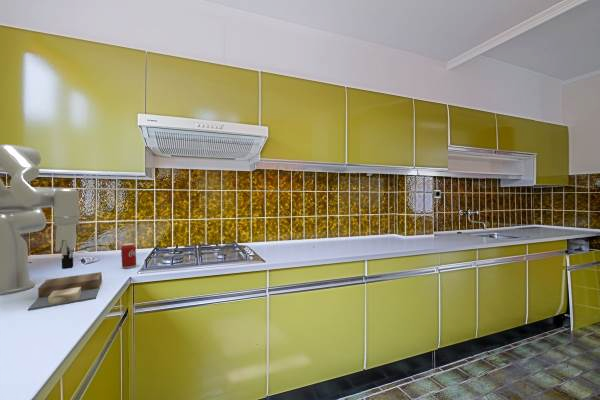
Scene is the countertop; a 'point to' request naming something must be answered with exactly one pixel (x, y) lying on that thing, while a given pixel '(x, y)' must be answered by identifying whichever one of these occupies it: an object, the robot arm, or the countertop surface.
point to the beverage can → (128, 255)
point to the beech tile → (64, 295)
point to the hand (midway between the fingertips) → (67, 267)
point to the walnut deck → (70, 283)
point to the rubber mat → (83, 297)
